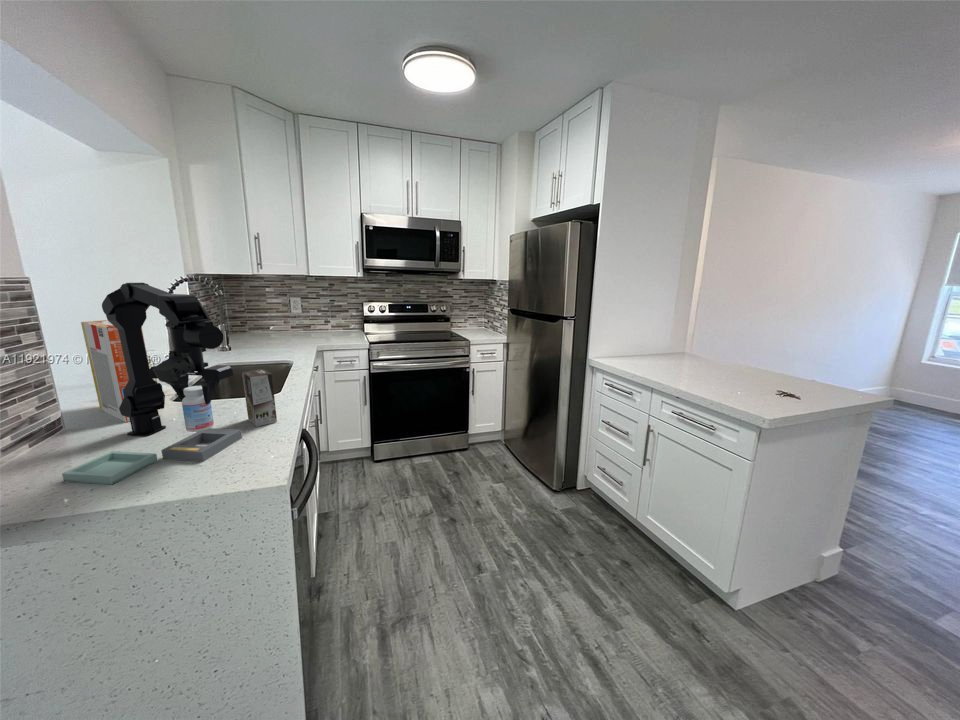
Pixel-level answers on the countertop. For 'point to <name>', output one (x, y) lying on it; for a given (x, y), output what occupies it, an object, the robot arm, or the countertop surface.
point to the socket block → (190, 452)
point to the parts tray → (110, 467)
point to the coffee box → (259, 397)
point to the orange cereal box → (107, 365)
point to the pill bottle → (196, 410)
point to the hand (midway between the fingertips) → (196, 403)
